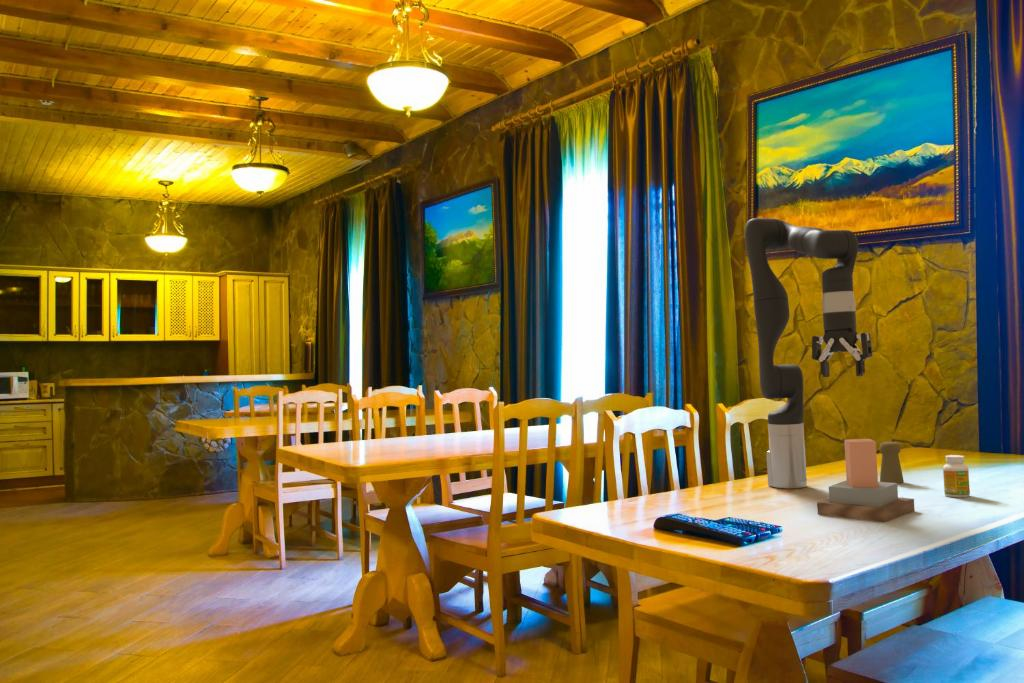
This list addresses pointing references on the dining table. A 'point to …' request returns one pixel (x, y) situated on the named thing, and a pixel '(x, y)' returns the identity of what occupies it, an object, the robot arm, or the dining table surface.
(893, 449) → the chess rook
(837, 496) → the slate top block
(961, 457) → the supplement bottle
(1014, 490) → the dining table surface
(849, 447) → the terracotta block
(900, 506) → the walnut base block
